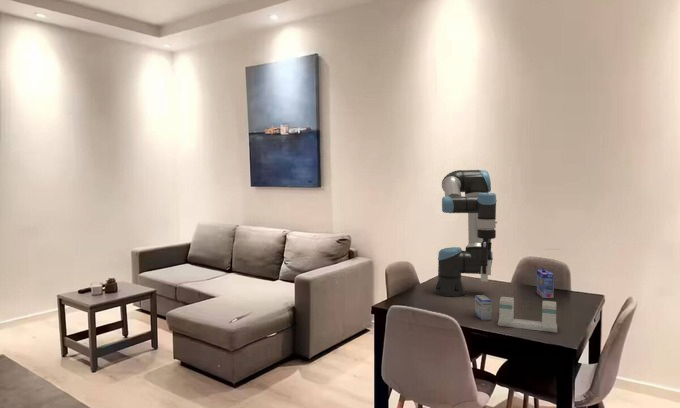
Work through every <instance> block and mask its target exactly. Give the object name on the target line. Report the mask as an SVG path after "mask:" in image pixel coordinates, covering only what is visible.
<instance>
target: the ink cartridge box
mask: <svg viewBox="0 0 680 408" xmlns="http://www.w3.org/2000/svg"><path fill="white" fill-rule="evenodd" d="M540 268H541V269H536V294H538V295H539V296H540V297H541V298H542V299H554V296H555V294H554V293H555V292H554V291H555V290H554V285H555V284H554V282H555V281H554V279H555V278H554V273H553V272H551V271H549V270H548V269H545V268H544V267H543V266H540Z"/></svg>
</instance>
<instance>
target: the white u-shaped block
mask: <svg viewBox="0 0 680 408" xmlns="http://www.w3.org/2000/svg"><path fill="white" fill-rule="evenodd" d="M514 300H515V298H514V297H510V296H501V297H500V299H499V306H498V307H499V309H498V310H499V311H498V312H499V313H498V314H499V315H498V316H499V318H498V321H497V326H498V327H507V328H515V329H522V330H529V331H530V330H534V331H541V332H547V333H554V334H555V333H557V334H558V323H557V301H552V300H542V304H541V305H542V307H541V311H542V312H541V314H542V315H541V321H538V320H530V319H521V318H514V313H515V311H514V309H515V308H514V307H515V306H514V305H515V301H514Z"/></svg>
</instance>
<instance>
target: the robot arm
mask: <svg viewBox="0 0 680 408" xmlns="http://www.w3.org/2000/svg"><path fill="white" fill-rule="evenodd" d="M491 185H492V183H491V176H490V173H489V172H488V171H487V170H485V169H482V170H481V169H466V170H463V169H459V170H454V171H451V172H449V173H447V174H446V175H445V176H444V177H443V179H442V180H441V189H442V190H443V192H444V196H442V198H441V212H442V213H445V214H467V216H468V217H467V218H468V219H467V223H468V227H467V229H468V230H467V231H468V234H467V235H468V244H467V245H466V246H465V250H462V247H457V246H453V247H446V248H442V249H440V250H439V251H438V255H437V257H438V258H437V260H438V264H437V265H438V266H437V267H438V268H437V274H438V275H437V280H436V283H435V285H434V286H435V287H434V294H436V295H439V296H443V297H461V296H463V295H465V293H466V292H465V287H464V286H465V285H464V282H463V280H462V274H472V275H474V274H476V275H480V282H485V283H488V280H489V278H488V277H489V276H492V266H493V265H492V264H493V259H494V258H493V257H494V256H493V251H492V239H493V240H494V239H496V236H497V232H496V231H497V230H496V227H497V226H496V225H497V224H498V221H497V220H496V219H497V213H496V212H497V201H498V200H497V194H496V193H494V192H492V186H491ZM462 193H464V196H462Z"/></svg>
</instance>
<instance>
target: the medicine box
mask: <svg viewBox="0 0 680 408" xmlns="http://www.w3.org/2000/svg"><path fill="white" fill-rule="evenodd" d="M492 305H493V304H492V299H490V298H488V297H487V296H486V295H484V294H479V295H475V296H474V315H475V316H476V317H477V318H479V319H480V320H481V321H490V320H492Z"/></svg>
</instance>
